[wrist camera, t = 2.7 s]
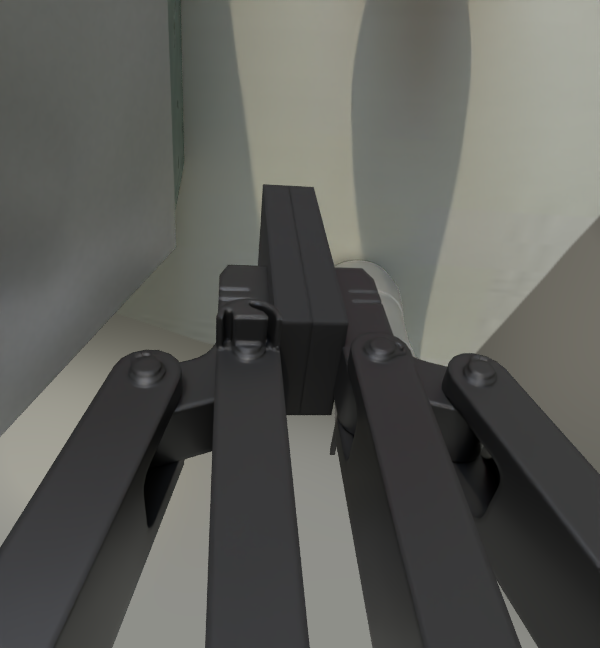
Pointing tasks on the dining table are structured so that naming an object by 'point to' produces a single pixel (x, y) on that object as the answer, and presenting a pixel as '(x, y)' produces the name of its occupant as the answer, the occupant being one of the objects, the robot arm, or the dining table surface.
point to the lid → (78, 177)
